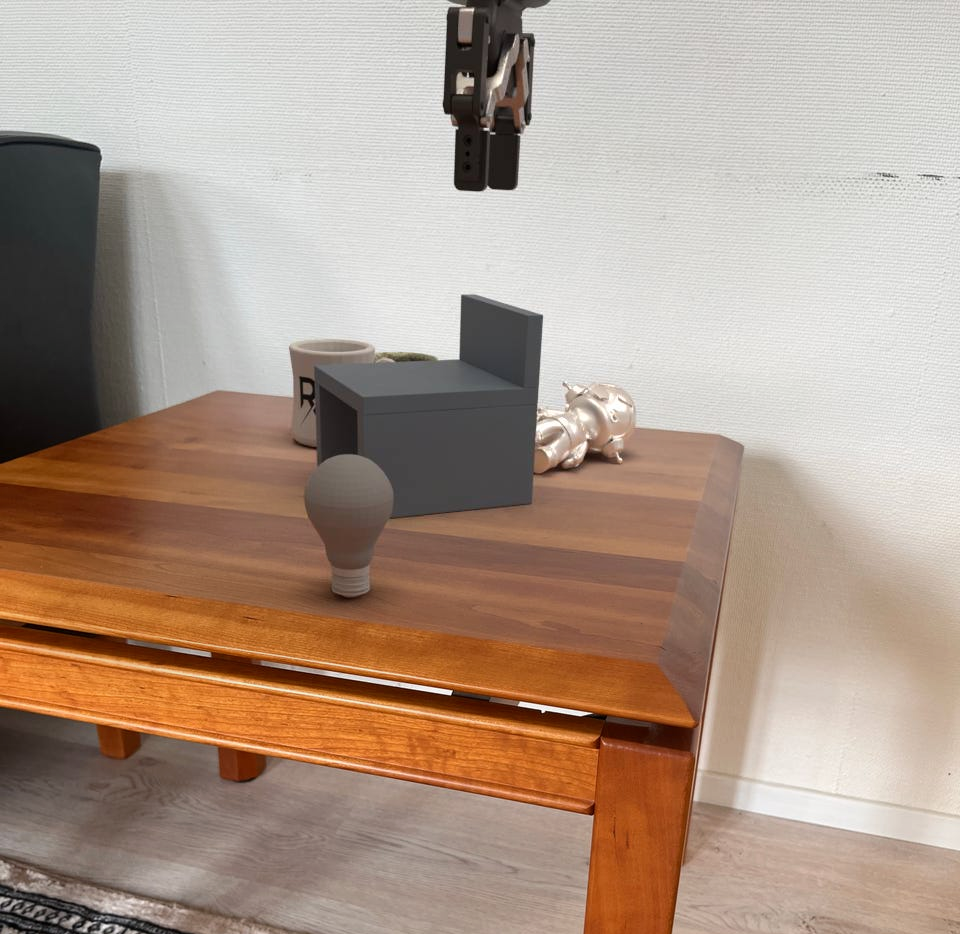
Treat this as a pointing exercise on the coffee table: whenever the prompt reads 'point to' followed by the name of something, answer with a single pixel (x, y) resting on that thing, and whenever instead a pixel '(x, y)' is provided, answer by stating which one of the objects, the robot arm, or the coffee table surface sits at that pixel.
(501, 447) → the grey toy chair
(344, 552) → the light bulb
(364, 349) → the mug
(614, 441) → the figurine
